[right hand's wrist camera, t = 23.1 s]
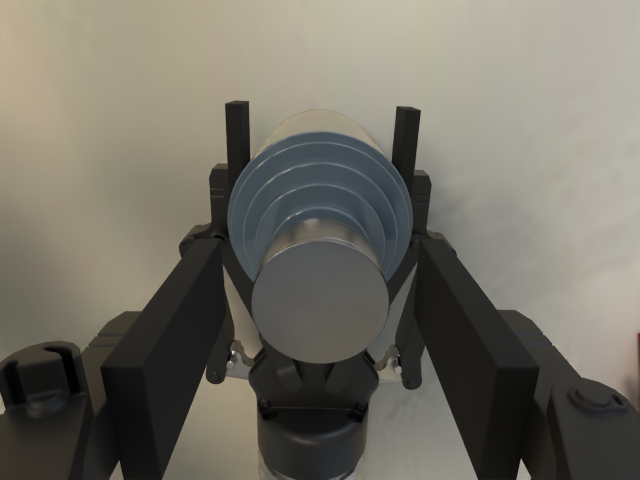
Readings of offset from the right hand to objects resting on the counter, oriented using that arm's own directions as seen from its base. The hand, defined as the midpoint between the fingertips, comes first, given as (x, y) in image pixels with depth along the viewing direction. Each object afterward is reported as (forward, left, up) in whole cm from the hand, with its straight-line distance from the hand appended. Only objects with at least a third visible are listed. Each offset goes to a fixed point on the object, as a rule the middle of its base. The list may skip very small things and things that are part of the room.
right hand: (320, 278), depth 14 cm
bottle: (0, 0, -17) cm, 17 cm away
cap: (0, 0, +1) cm, 1 cm away
